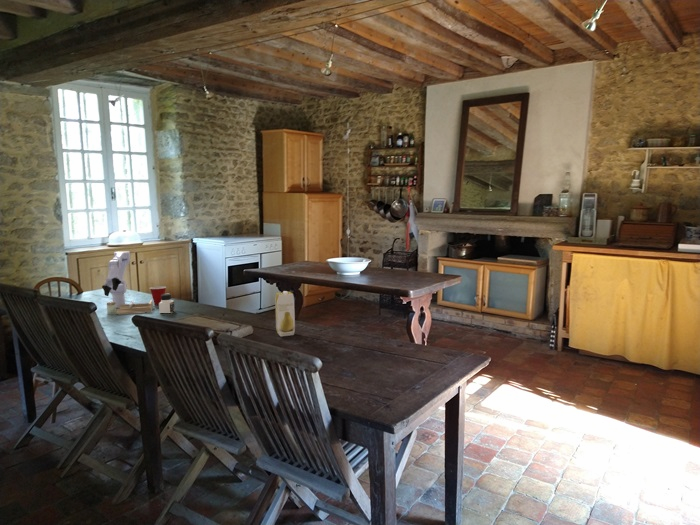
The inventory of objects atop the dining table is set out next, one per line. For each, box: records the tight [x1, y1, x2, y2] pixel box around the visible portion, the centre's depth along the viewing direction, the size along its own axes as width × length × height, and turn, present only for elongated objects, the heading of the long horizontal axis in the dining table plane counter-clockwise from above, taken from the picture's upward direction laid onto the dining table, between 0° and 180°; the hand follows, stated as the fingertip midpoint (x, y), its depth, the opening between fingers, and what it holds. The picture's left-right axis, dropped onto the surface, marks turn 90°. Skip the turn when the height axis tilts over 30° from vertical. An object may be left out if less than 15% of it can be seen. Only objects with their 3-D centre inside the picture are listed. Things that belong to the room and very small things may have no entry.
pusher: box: [128, 300, 135, 308], centre depth 314 cm, size 9×1×5 cm, turn 16°
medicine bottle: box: [158, 293, 175, 314], centre depth 310 cm, size 7×7×12 cm
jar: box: [106, 301, 117, 315], centre depth 309 cm, size 5×5×7 cm
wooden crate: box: [116, 299, 154, 316], centre depth 314 cm, size 12×20×6 cm, turn 106°
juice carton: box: [274, 290, 296, 337], centre depth 262 cm, size 9×8×24 cm
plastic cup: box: [149, 285, 167, 306], centre depth 333 cm, size 11×11×12 cm
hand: (110, 292), depth 305 cm, fingers open, 7 cm apart
